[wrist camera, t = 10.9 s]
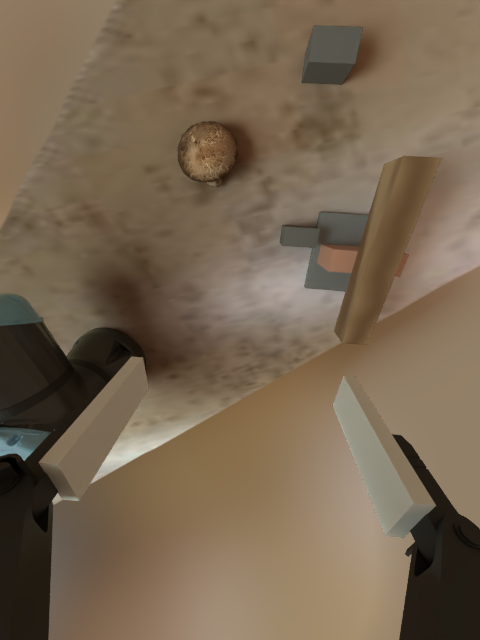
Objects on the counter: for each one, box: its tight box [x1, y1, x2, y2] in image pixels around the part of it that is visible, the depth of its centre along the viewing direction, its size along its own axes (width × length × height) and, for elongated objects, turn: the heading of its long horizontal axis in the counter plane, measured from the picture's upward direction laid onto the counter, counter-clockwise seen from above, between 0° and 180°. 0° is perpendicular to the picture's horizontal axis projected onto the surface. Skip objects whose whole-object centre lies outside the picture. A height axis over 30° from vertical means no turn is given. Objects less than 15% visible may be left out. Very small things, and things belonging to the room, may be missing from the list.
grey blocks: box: [280, 25, 363, 248], centre depth 28 cm, size 5×22×4 cm, turn 177°
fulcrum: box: [304, 212, 409, 291], centre depth 32 cm, size 12×12×7 cm
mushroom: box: [178, 122, 238, 187], centre depth 28 cm, size 8×8×6 cm
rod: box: [334, 156, 442, 345], centre depth 27 cm, size 4×22×4 cm, turn 177°
